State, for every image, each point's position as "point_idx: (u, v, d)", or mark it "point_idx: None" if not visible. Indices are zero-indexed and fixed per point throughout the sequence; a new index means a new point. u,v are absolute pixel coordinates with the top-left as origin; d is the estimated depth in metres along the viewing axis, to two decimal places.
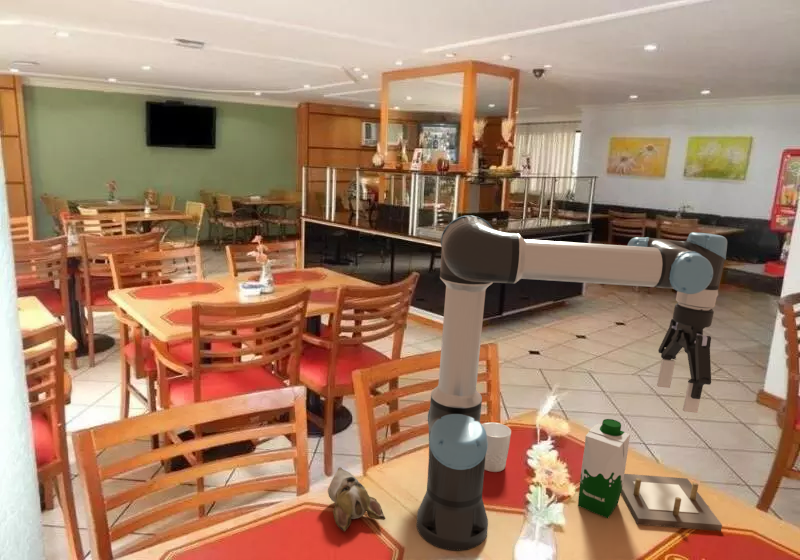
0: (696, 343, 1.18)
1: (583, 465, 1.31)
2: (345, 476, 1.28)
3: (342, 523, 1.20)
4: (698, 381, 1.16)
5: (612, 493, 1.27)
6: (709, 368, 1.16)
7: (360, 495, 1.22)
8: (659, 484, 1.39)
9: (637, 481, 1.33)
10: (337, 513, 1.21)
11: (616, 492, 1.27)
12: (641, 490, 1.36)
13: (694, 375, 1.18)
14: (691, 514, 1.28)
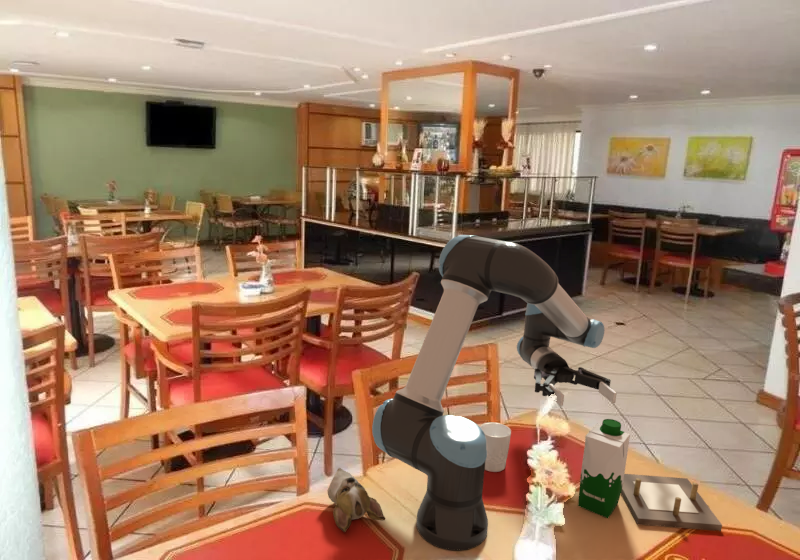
0: (583, 369, 1.51)
1: (583, 465, 1.31)
2: (345, 477, 1.28)
3: (342, 524, 1.20)
4: (609, 379, 1.46)
5: (612, 493, 1.27)
6: None
7: (360, 496, 1.22)
8: (659, 484, 1.39)
9: (637, 481, 1.33)
10: (337, 514, 1.20)
11: (616, 492, 1.27)
12: (641, 490, 1.36)
13: None
14: (691, 514, 1.28)
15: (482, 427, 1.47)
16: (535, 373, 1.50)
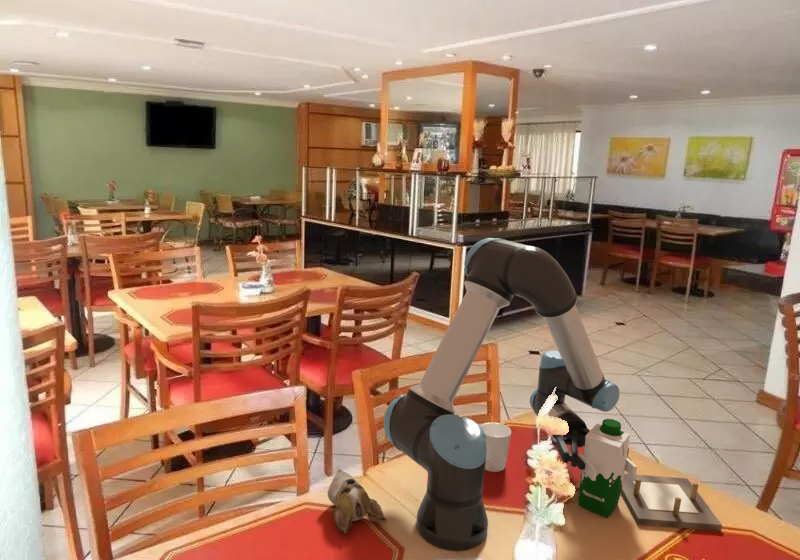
0: None
1: None
2: (345, 478, 1.28)
3: (342, 525, 1.19)
4: (628, 448, 1.34)
5: (612, 493, 1.27)
6: None
7: (361, 497, 1.21)
8: (659, 484, 1.39)
9: (637, 481, 1.33)
10: (338, 515, 1.20)
11: (616, 492, 1.27)
12: (641, 490, 1.36)
13: None
14: (691, 514, 1.28)
15: (482, 427, 1.47)
16: (554, 438, 1.39)
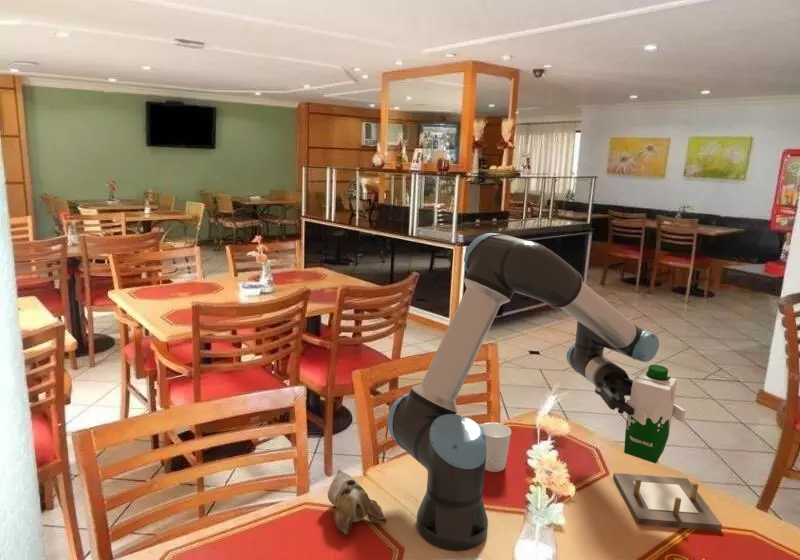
0: None
1: None
2: (345, 479, 1.27)
3: (343, 527, 1.19)
4: None
5: (660, 438, 1.26)
6: None
7: (361, 498, 1.21)
8: (659, 484, 1.39)
9: (637, 481, 1.33)
10: (338, 517, 1.20)
11: (664, 437, 1.26)
12: (641, 490, 1.36)
13: None
14: (691, 514, 1.28)
15: (482, 427, 1.47)
16: (598, 387, 1.38)
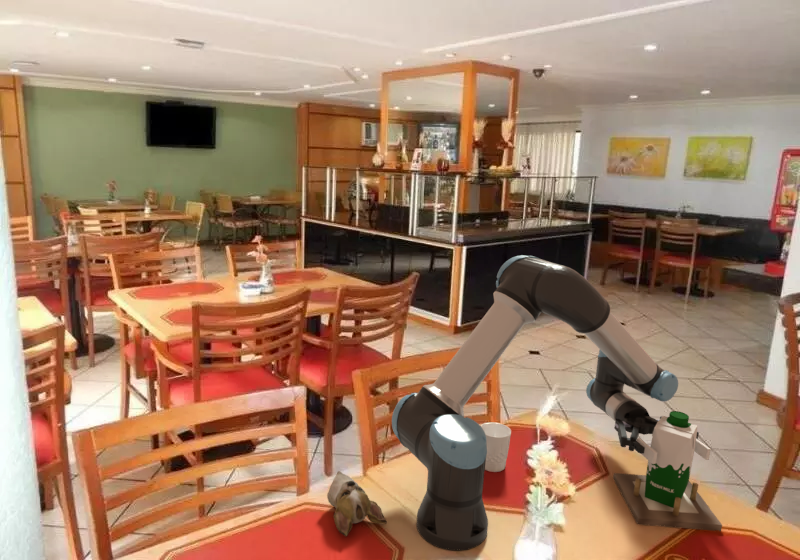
0: None
1: None
2: (345, 480, 1.27)
3: (343, 528, 1.19)
4: (697, 432, 1.38)
5: (681, 484, 1.29)
6: None
7: (361, 499, 1.20)
8: None
9: (637, 481, 1.33)
10: (338, 518, 1.19)
11: (685, 483, 1.29)
12: (641, 490, 1.36)
13: None
14: (691, 514, 1.28)
15: (482, 427, 1.47)
16: (616, 424, 1.41)
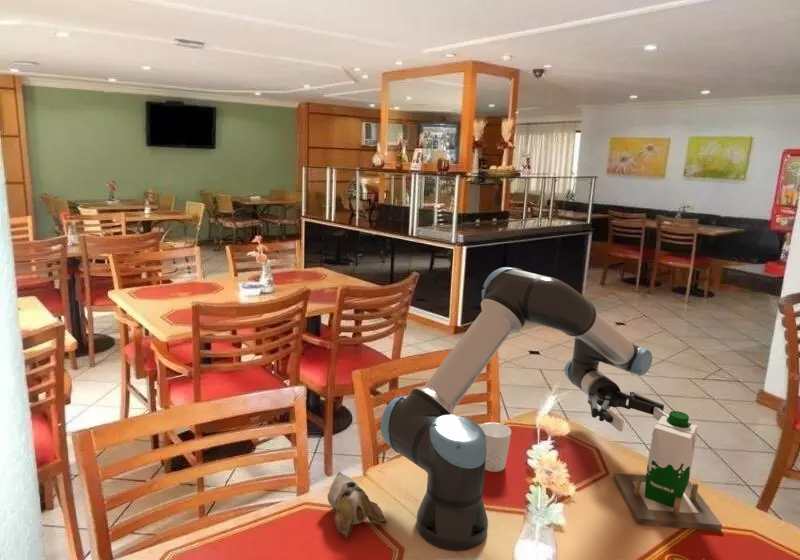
0: (635, 394, 1.56)
1: (650, 457, 1.32)
2: (345, 481, 1.26)
3: (343, 529, 1.18)
4: (663, 405, 1.50)
5: (680, 484, 1.29)
6: None
7: (362, 500, 1.20)
8: None
9: (637, 481, 1.33)
10: (338, 519, 1.19)
11: (685, 483, 1.29)
12: (641, 490, 1.36)
13: None
14: (691, 514, 1.28)
15: (482, 427, 1.47)
16: (589, 398, 1.54)
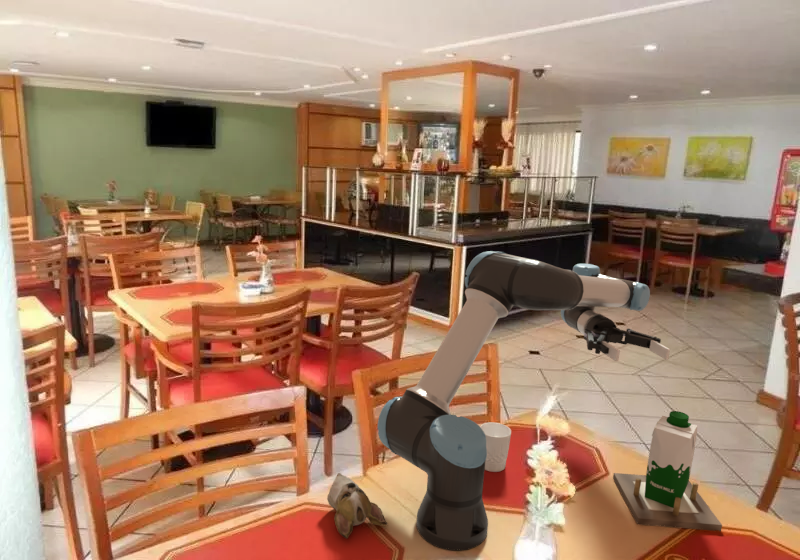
0: (631, 330, 1.54)
1: (650, 457, 1.32)
2: (345, 482, 1.26)
3: (344, 530, 1.18)
4: (659, 338, 1.48)
5: (681, 484, 1.29)
6: None
7: (362, 501, 1.20)
8: None
9: (637, 481, 1.33)
10: (339, 520, 1.19)
11: (685, 483, 1.29)
12: (641, 490, 1.36)
13: None
14: (691, 514, 1.28)
15: (482, 427, 1.47)
16: (585, 333, 1.52)
